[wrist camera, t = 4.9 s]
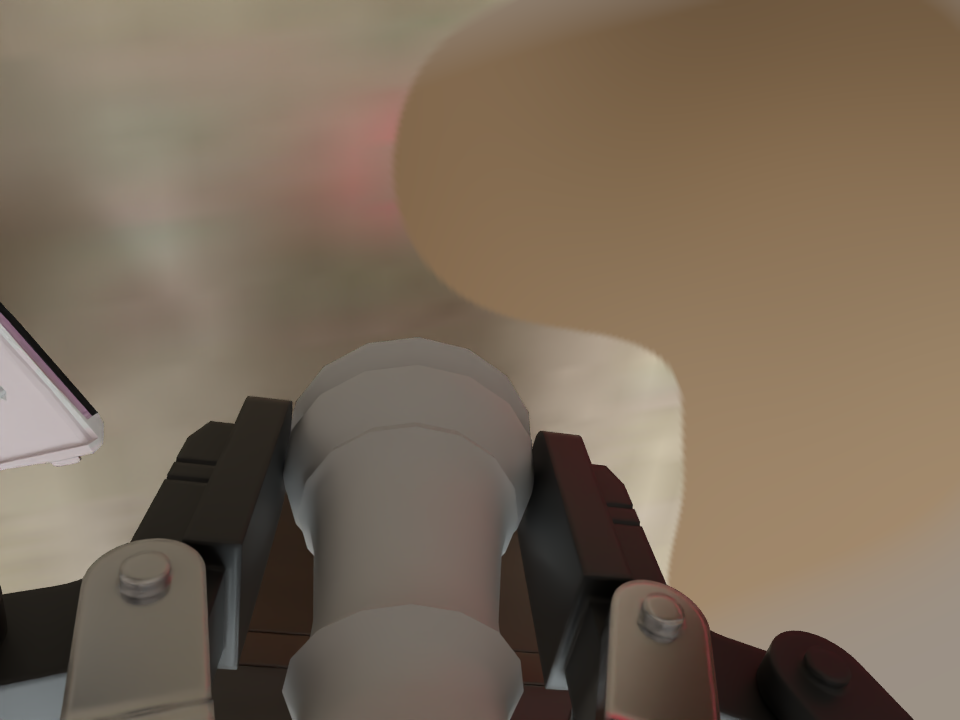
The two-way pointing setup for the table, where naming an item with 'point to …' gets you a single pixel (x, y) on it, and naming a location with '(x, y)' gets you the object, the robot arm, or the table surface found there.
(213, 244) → the table surface
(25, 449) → the mobile phone
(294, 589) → the tray
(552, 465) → the robot arm
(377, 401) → the rook chess piece
